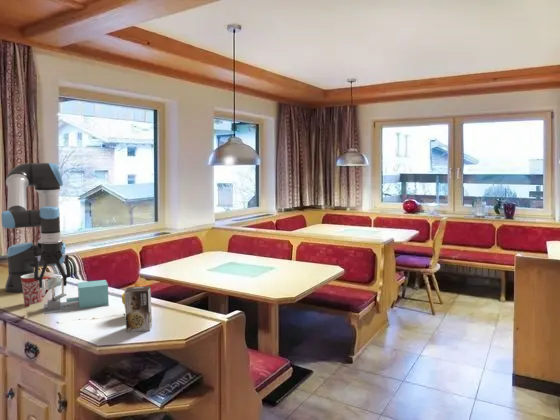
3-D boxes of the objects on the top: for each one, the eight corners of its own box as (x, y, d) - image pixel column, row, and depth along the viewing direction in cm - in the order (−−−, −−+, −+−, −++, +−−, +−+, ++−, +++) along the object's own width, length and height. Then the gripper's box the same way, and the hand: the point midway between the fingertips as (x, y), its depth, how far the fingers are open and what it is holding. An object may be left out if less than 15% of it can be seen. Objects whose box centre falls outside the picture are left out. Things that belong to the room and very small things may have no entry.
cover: (66, 303, 206) (65, 283, 205) (106, 298, 214) (105, 279, 213) (67, 309, 197) (66, 289, 196) (108, 304, 205) (107, 284, 204)
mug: (25, 308, 202) (23, 279, 201) (19, 304, 209) (18, 275, 207) (55, 302, 211) (54, 274, 210) (49, 298, 217) (47, 270, 216)
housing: (44, 306, 204) (43, 293, 204) (105, 299, 216) (105, 286, 215) (43, 317, 191) (43, 302, 190) (109, 308, 202) (108, 295, 202)
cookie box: (152, 325, 182) (151, 286, 180) (149, 331, 175) (148, 290, 174) (128, 326, 180) (127, 286, 179) (125, 332, 174) (124, 291, 173)
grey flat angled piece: (45, 302, 195) (44, 280, 194) (62, 295, 206) (61, 274, 205) (49, 302, 195) (48, 280, 194) (66, 295, 206) (65, 274, 205)
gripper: (23, 245, 190) (26, 298, 192) (75, 242, 196) (77, 294, 199) (26, 242, 196) (29, 293, 199) (76, 239, 203) (78, 289, 206)
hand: (53, 293), depth 199 cm, fingers open, 7 cm apart
